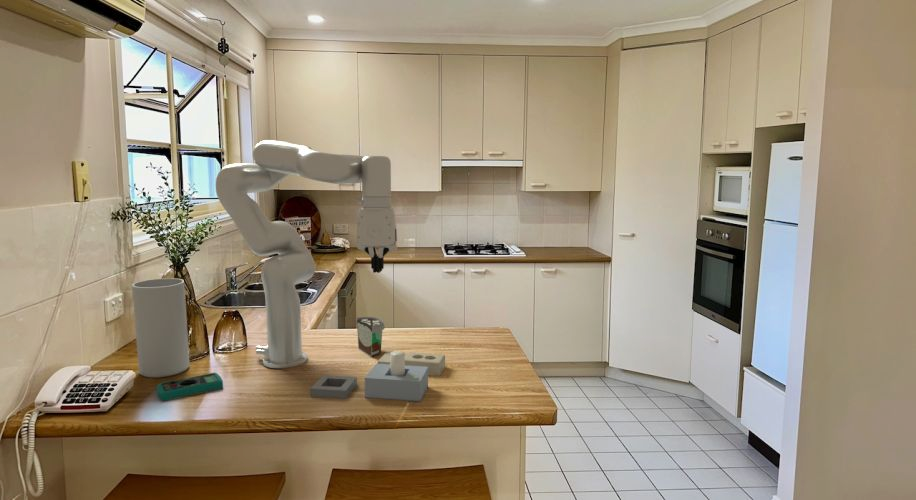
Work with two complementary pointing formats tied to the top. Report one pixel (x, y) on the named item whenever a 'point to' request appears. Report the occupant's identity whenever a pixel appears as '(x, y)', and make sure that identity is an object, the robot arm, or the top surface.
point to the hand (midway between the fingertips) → (377, 271)
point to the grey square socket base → (333, 387)
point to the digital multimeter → (189, 386)
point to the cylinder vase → (161, 327)
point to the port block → (396, 383)
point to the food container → (370, 335)
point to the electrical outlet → (421, 361)
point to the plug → (397, 363)
